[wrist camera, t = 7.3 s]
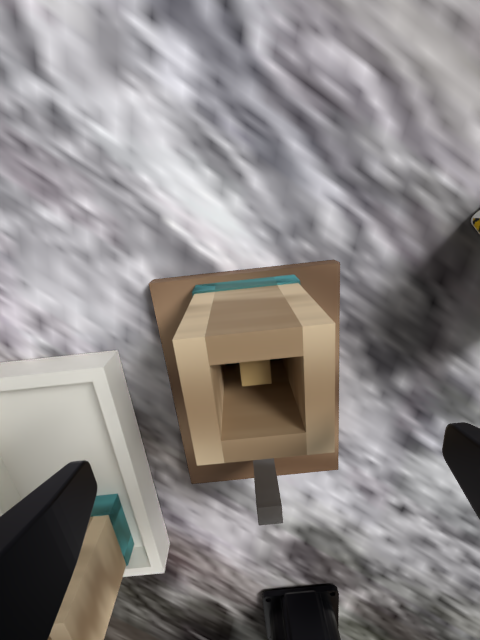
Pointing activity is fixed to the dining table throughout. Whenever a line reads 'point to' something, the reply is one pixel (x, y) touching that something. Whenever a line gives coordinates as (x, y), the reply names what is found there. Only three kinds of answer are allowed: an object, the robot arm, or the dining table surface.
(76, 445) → the feeder tray
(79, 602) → the sleeve
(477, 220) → the medicine bottle
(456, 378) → the dining table surface
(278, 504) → the pin board
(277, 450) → the oak sleeve
